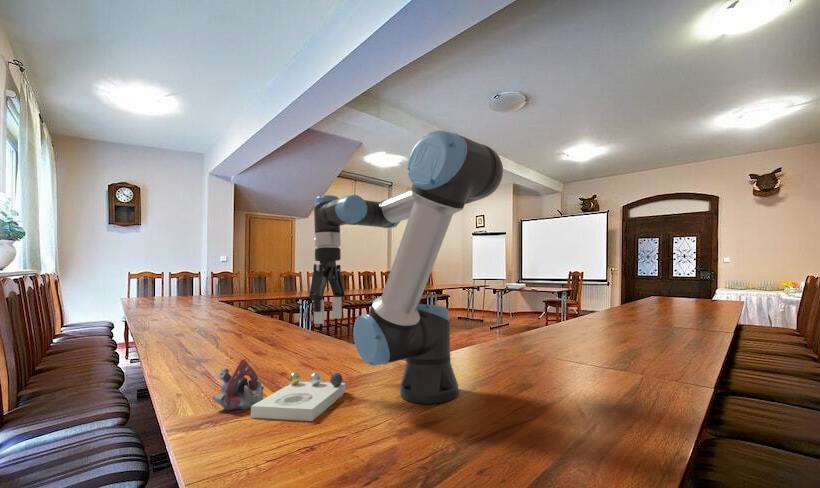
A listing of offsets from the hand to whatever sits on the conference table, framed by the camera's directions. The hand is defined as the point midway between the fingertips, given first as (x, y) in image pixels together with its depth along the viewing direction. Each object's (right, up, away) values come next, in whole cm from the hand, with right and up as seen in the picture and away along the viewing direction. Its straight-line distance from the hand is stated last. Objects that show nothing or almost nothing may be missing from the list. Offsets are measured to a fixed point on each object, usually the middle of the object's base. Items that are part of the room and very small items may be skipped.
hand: (328, 320), depth 105 cm
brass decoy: (-7, -14, -9) cm, 18 cm away
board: (-3, -17, -17) cm, 24 cm away
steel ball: (-1, -13, -10) cm, 17 cm away
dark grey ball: (+5, -13, -11) cm, 18 cm away
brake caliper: (-18, -18, -16) cm, 30 cm away
